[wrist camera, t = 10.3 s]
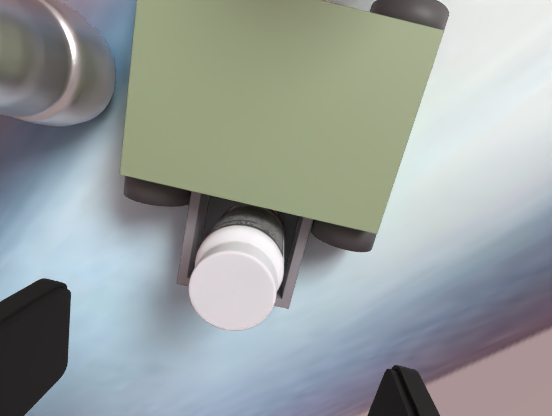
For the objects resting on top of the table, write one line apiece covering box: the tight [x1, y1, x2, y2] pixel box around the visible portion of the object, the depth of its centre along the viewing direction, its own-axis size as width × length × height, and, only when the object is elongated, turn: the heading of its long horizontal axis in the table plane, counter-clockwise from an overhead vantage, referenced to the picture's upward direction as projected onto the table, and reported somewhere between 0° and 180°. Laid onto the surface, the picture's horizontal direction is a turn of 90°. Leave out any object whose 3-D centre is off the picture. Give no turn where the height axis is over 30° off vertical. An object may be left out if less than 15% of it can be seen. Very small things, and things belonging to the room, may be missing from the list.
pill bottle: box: [189, 203, 285, 331], centre depth 17 cm, size 5×5×8 cm
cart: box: [120, 0, 449, 309], centre depth 17 cm, size 16×19×5 cm
